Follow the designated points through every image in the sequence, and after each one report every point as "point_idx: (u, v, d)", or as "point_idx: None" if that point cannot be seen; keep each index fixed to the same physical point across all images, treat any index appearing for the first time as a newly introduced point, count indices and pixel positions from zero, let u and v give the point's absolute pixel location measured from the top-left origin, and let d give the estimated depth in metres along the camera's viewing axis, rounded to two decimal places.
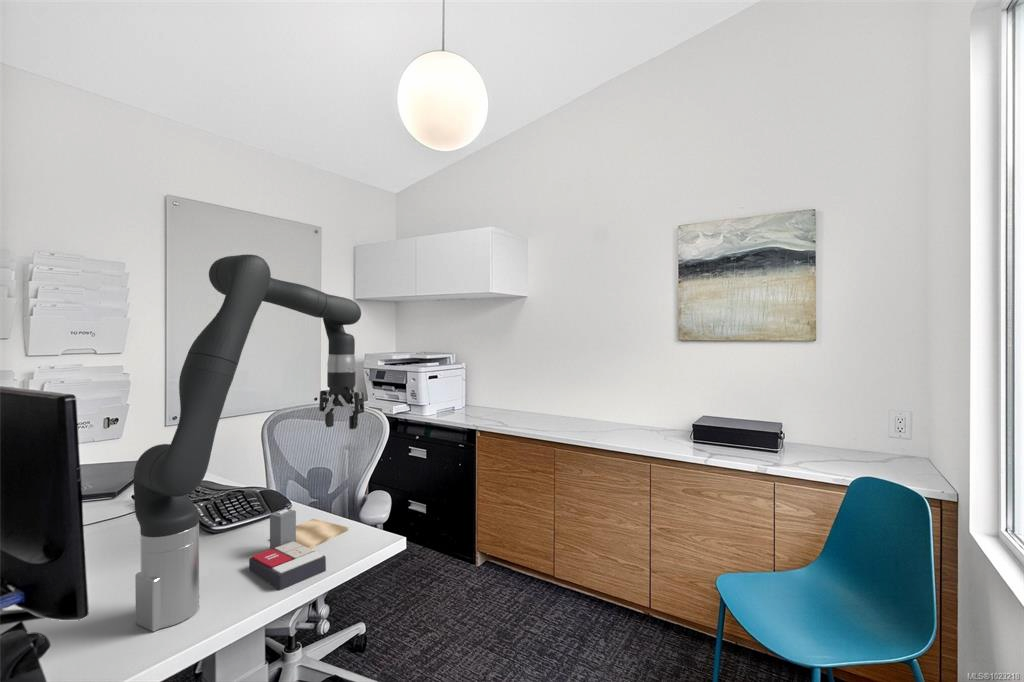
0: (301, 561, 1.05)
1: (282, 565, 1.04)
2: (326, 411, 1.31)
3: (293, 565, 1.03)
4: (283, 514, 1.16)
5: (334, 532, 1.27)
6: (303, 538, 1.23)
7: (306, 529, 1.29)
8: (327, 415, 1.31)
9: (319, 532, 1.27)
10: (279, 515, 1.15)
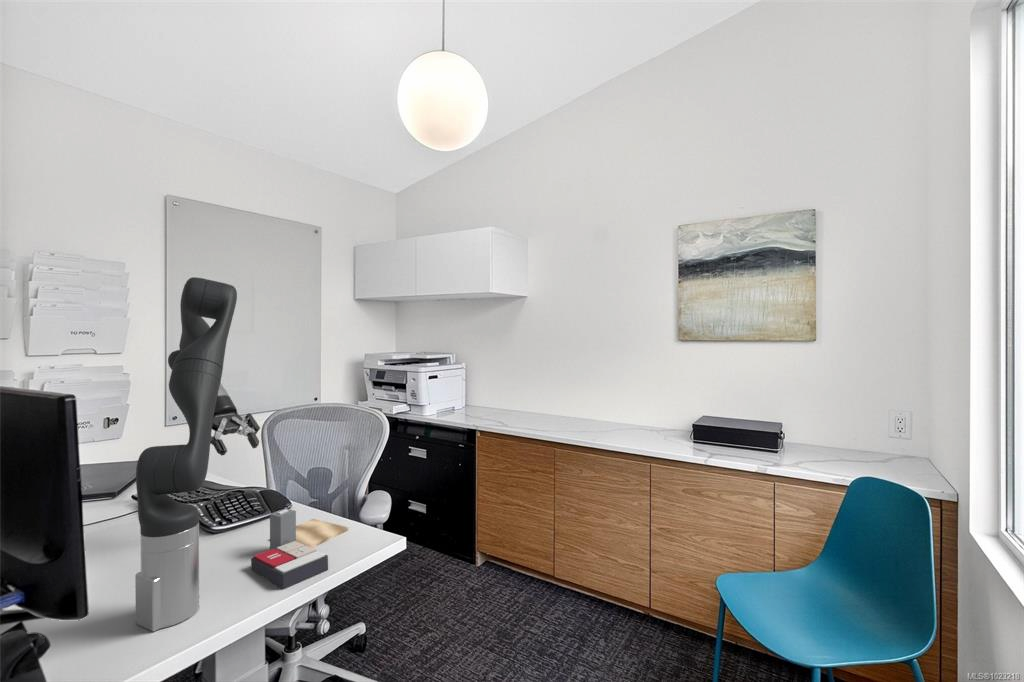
0: (303, 560, 1.05)
1: (285, 564, 1.04)
2: (218, 436, 1.19)
3: (296, 564, 1.03)
4: (283, 514, 1.16)
5: (334, 532, 1.27)
6: (303, 538, 1.23)
7: (306, 529, 1.29)
8: (221, 440, 1.19)
9: (319, 532, 1.27)
10: (279, 515, 1.15)
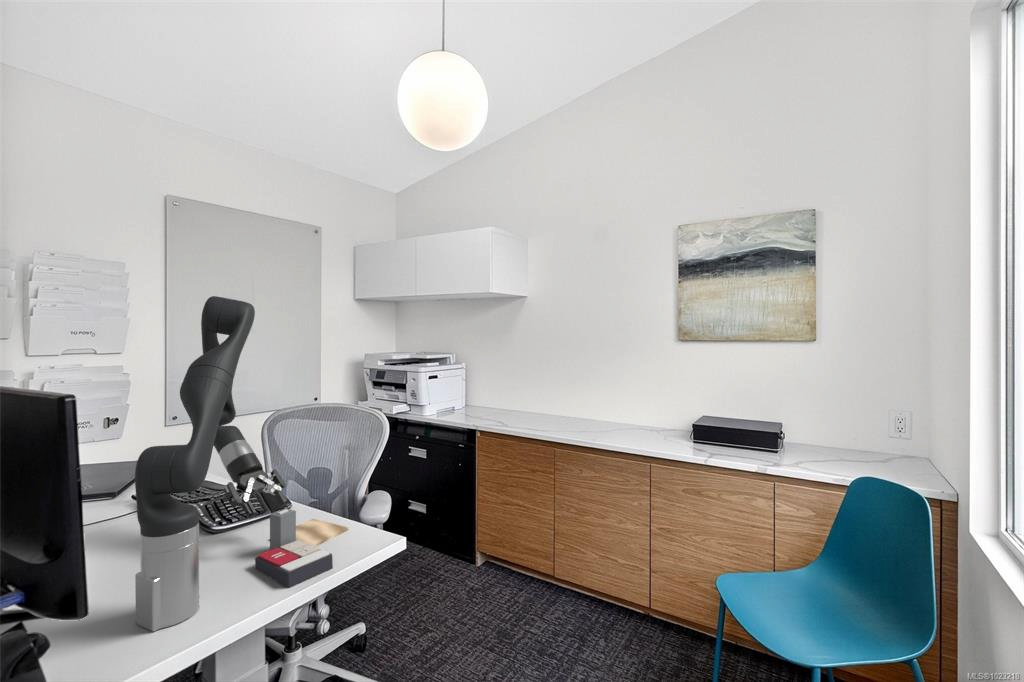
0: (308, 559, 1.06)
1: (290, 563, 1.04)
2: (247, 498, 1.17)
3: (301, 563, 1.04)
4: (283, 514, 1.16)
5: (334, 532, 1.27)
6: (303, 538, 1.23)
7: (306, 529, 1.29)
8: (249, 502, 1.17)
9: (319, 532, 1.27)
10: (279, 515, 1.15)
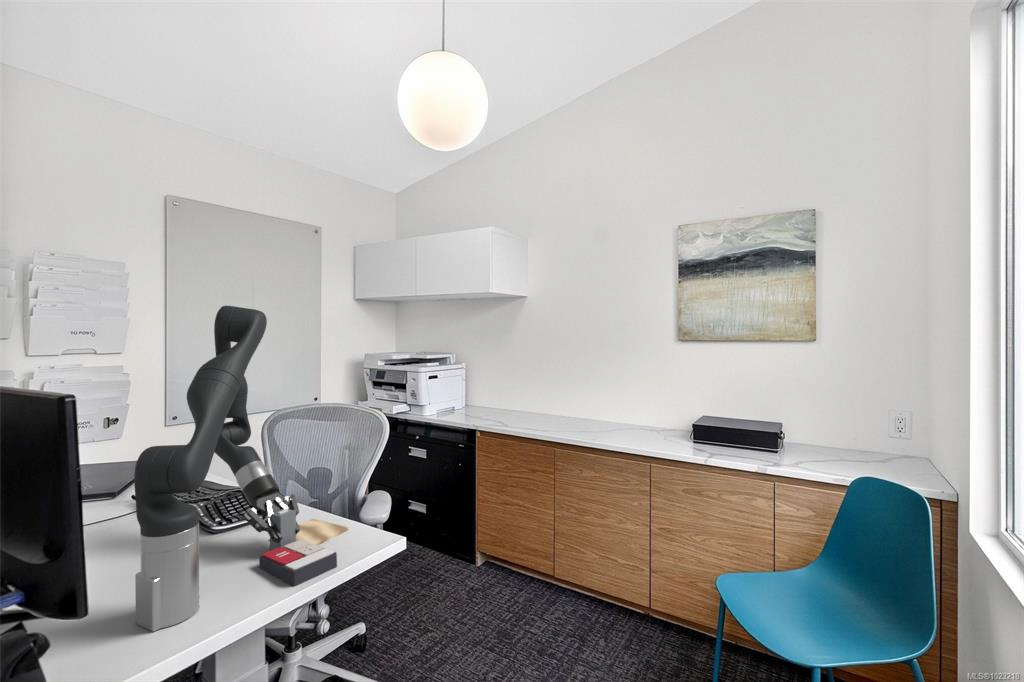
0: (313, 558, 1.06)
1: (295, 562, 1.05)
2: (272, 523, 1.15)
3: (306, 562, 1.05)
4: (283, 514, 1.16)
5: (334, 532, 1.27)
6: (303, 538, 1.23)
7: (306, 529, 1.29)
8: (275, 527, 1.15)
9: (319, 532, 1.27)
10: (279, 515, 1.15)
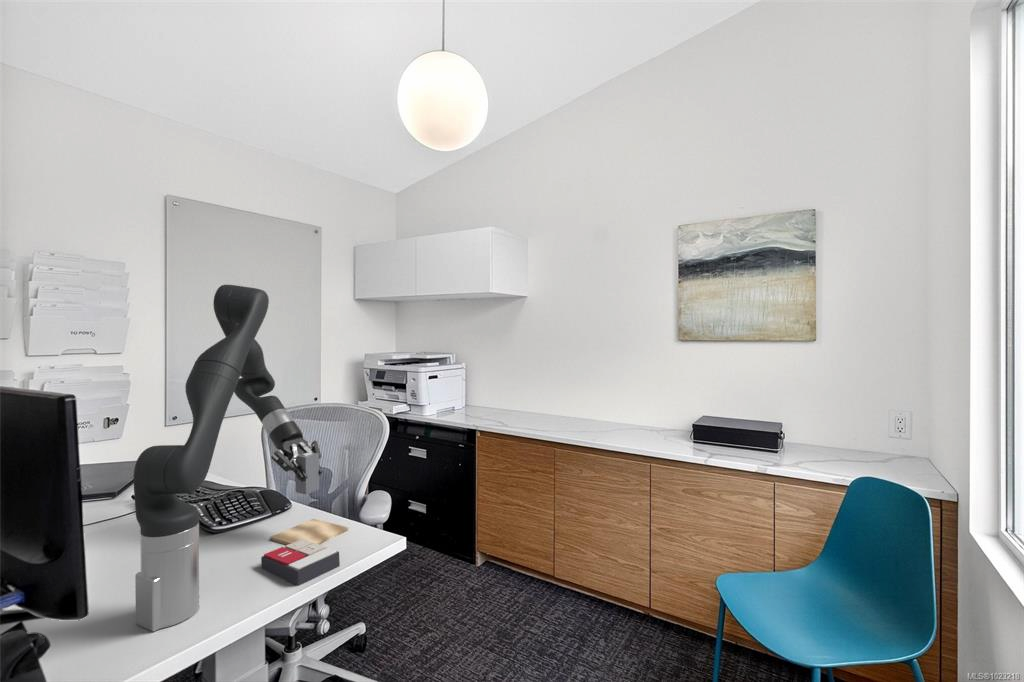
0: (316, 557, 1.07)
1: (298, 561, 1.05)
2: (298, 463, 1.25)
3: (309, 561, 1.05)
4: (308, 456, 1.25)
5: (334, 532, 1.27)
6: (303, 538, 1.23)
7: (306, 529, 1.29)
8: (301, 467, 1.24)
9: (319, 532, 1.27)
10: (304, 456, 1.25)
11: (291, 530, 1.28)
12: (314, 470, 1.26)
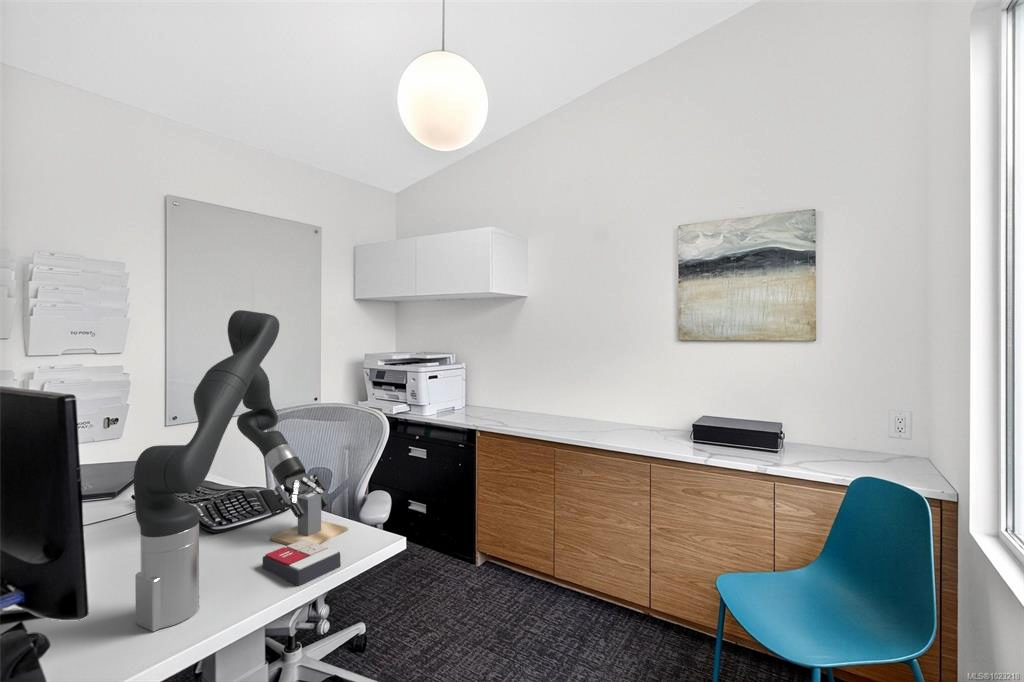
0: (317, 558, 1.07)
1: (298, 562, 1.05)
2: (295, 500, 1.24)
3: (310, 562, 1.05)
4: (310, 497, 1.26)
5: (334, 532, 1.27)
6: (303, 538, 1.23)
7: None
8: (297, 503, 1.24)
9: (319, 532, 1.27)
10: (306, 498, 1.25)
11: (291, 530, 1.28)
12: (316, 511, 1.27)
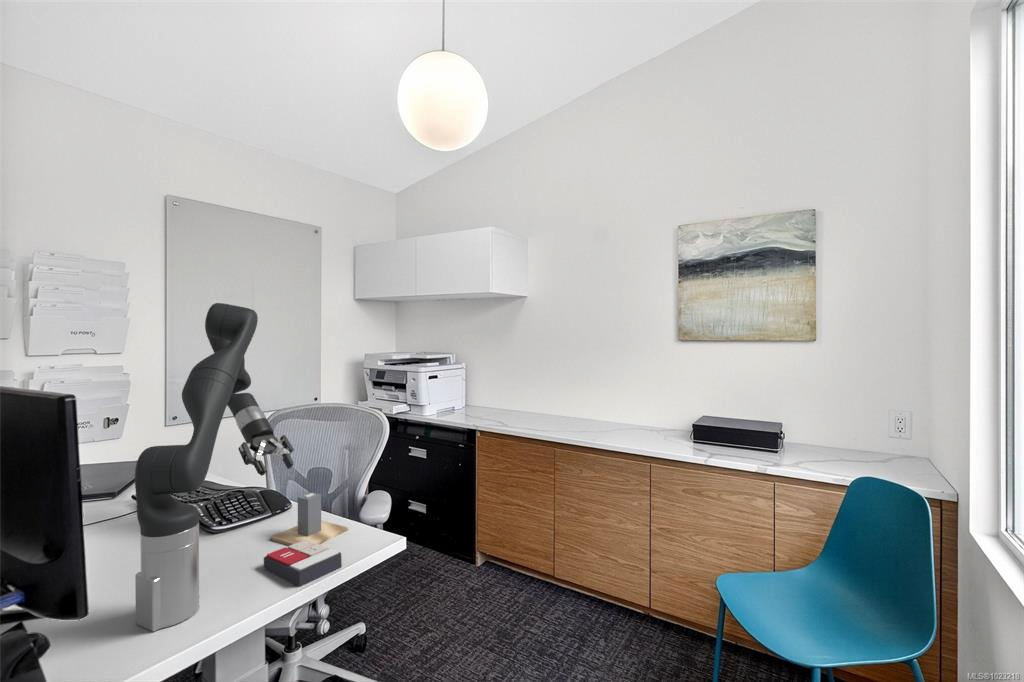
0: (318, 558, 1.06)
1: (299, 562, 1.05)
2: (259, 457, 1.29)
3: (311, 562, 1.04)
4: (310, 497, 1.26)
5: (334, 532, 1.27)
6: (303, 538, 1.23)
7: None
8: (261, 461, 1.29)
9: (319, 532, 1.27)
10: (306, 498, 1.25)
11: (291, 530, 1.28)
12: (316, 511, 1.27)
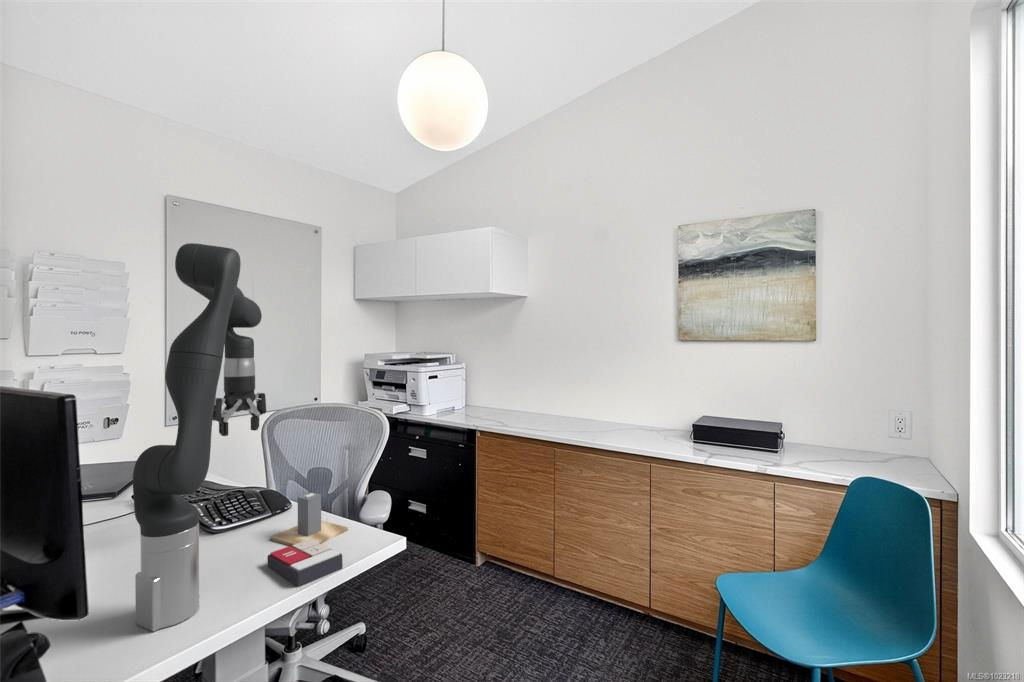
0: (318, 559, 1.06)
1: (300, 562, 1.05)
2: (227, 419, 1.23)
3: (310, 563, 1.04)
4: (310, 497, 1.26)
5: (334, 532, 1.27)
6: (303, 538, 1.23)
7: None
8: (227, 423, 1.24)
9: (319, 532, 1.27)
10: (306, 498, 1.25)
11: (291, 530, 1.28)
12: (316, 511, 1.27)
